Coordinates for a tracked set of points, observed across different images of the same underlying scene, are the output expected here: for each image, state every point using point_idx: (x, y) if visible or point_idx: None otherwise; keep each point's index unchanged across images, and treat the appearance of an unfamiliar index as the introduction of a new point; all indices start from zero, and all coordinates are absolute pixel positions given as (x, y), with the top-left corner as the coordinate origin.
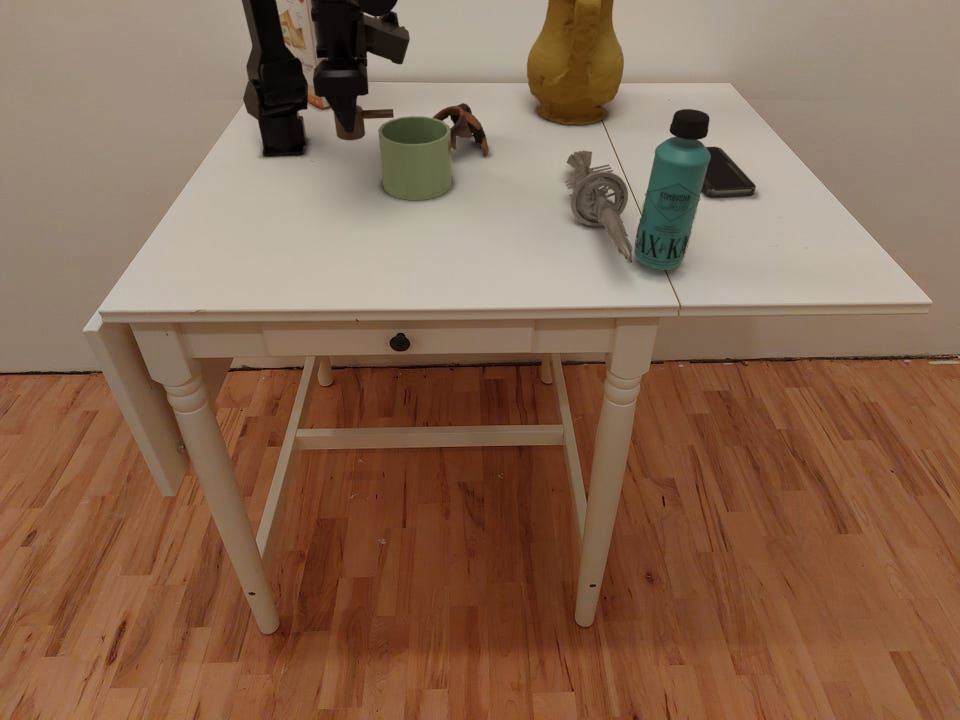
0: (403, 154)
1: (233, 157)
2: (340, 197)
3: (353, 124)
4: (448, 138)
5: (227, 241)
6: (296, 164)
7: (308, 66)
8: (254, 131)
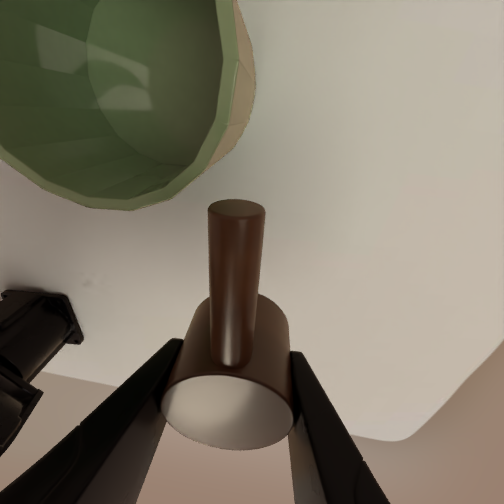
0: (231, 128)
1: (91, 367)
2: None
3: (316, 381)
4: None
5: None
6: (101, 304)
7: None
8: None
